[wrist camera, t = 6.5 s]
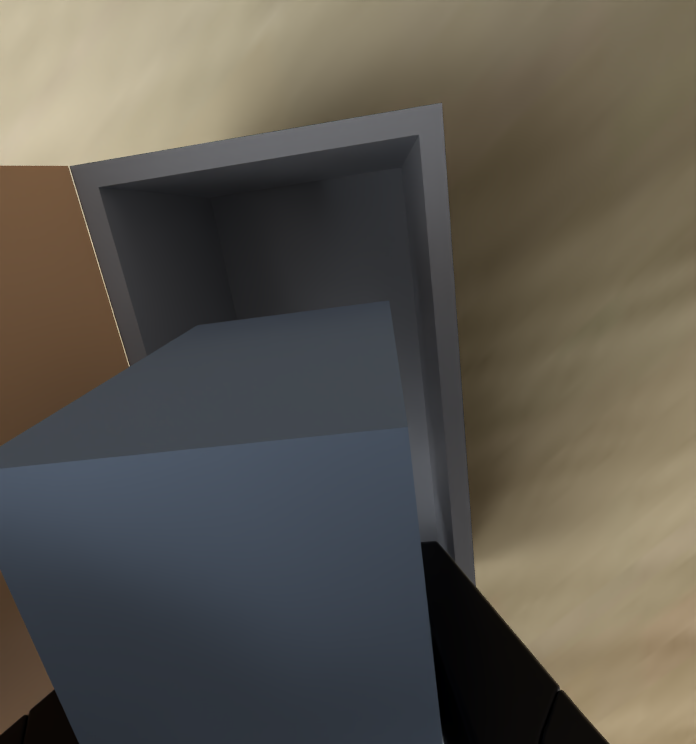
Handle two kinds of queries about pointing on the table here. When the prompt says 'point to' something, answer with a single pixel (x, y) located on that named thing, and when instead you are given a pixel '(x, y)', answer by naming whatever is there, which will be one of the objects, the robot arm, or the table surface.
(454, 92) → the table surface
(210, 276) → the grey hollow box
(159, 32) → the table surface
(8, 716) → the tan box lid
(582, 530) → the table surface
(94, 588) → the blue rectangular block
